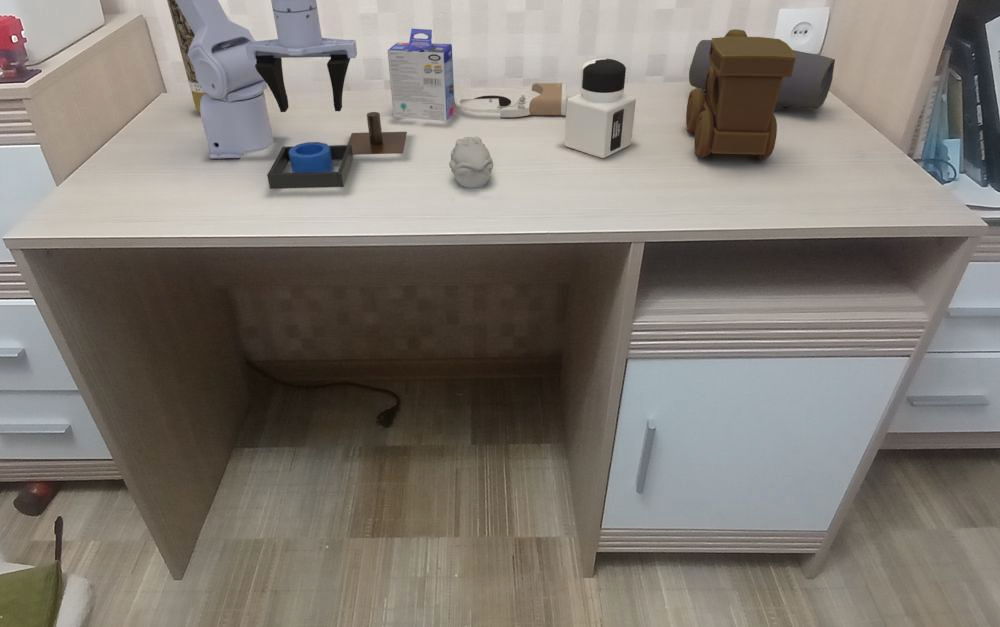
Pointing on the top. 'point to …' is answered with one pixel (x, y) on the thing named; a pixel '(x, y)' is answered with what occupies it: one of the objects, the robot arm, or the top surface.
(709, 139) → the wooden toy train
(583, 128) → the container
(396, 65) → the ink cartridge box
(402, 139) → the tape holder
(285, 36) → the robot arm
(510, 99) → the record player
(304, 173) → the tray
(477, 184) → the frog figurine
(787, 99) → the bluetooth speaker
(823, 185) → the top surface
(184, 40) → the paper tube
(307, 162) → the tape roll
